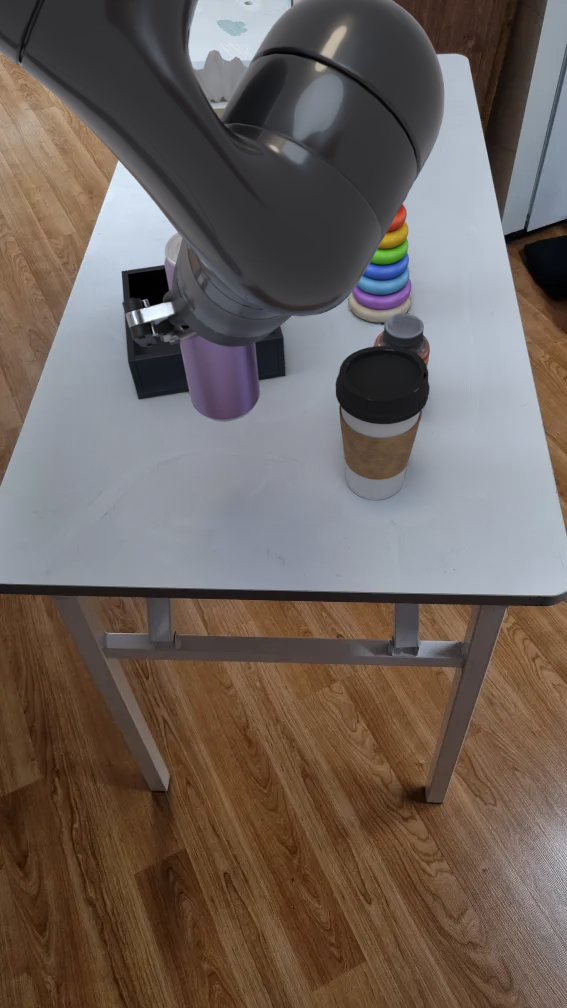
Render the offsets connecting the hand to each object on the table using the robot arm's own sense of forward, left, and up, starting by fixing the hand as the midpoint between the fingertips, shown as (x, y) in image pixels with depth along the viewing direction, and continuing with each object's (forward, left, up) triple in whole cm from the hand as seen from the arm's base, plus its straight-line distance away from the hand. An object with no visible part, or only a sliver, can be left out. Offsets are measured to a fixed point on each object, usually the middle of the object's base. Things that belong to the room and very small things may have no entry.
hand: (210, 320), depth 58 cm
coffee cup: (+14, -1, -22) cm, 26 cm away
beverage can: (0, -2, -7) cm, 8 cm away
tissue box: (+8, +73, -22) cm, 76 cm away
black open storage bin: (-1, +25, -22) cm, 33 cm away
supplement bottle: (+19, +9, -22) cm, 31 cm away
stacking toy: (+22, +27, -22) cm, 41 cm away
